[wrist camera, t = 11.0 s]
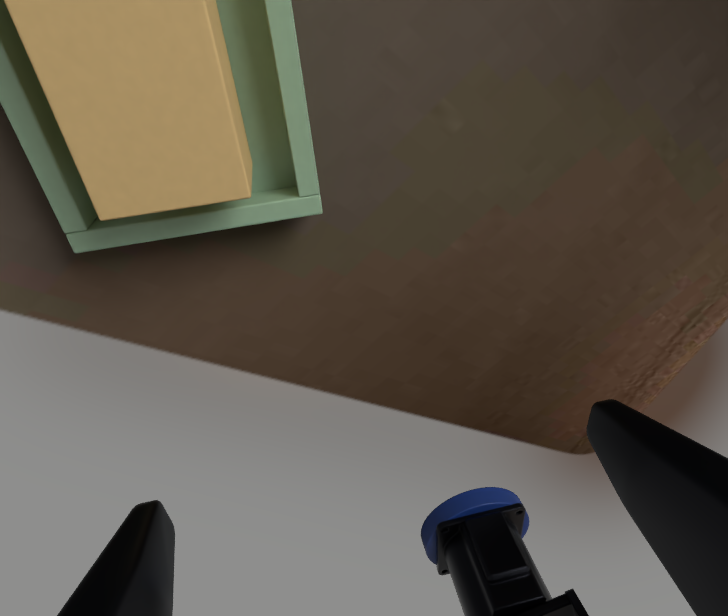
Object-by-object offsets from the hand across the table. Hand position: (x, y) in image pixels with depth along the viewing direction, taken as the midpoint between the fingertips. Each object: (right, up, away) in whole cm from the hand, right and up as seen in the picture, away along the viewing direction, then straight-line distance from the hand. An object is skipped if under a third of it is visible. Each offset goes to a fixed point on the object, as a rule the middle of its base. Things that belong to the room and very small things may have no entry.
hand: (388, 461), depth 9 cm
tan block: (-7, +12, +6) cm, 15 cm away
